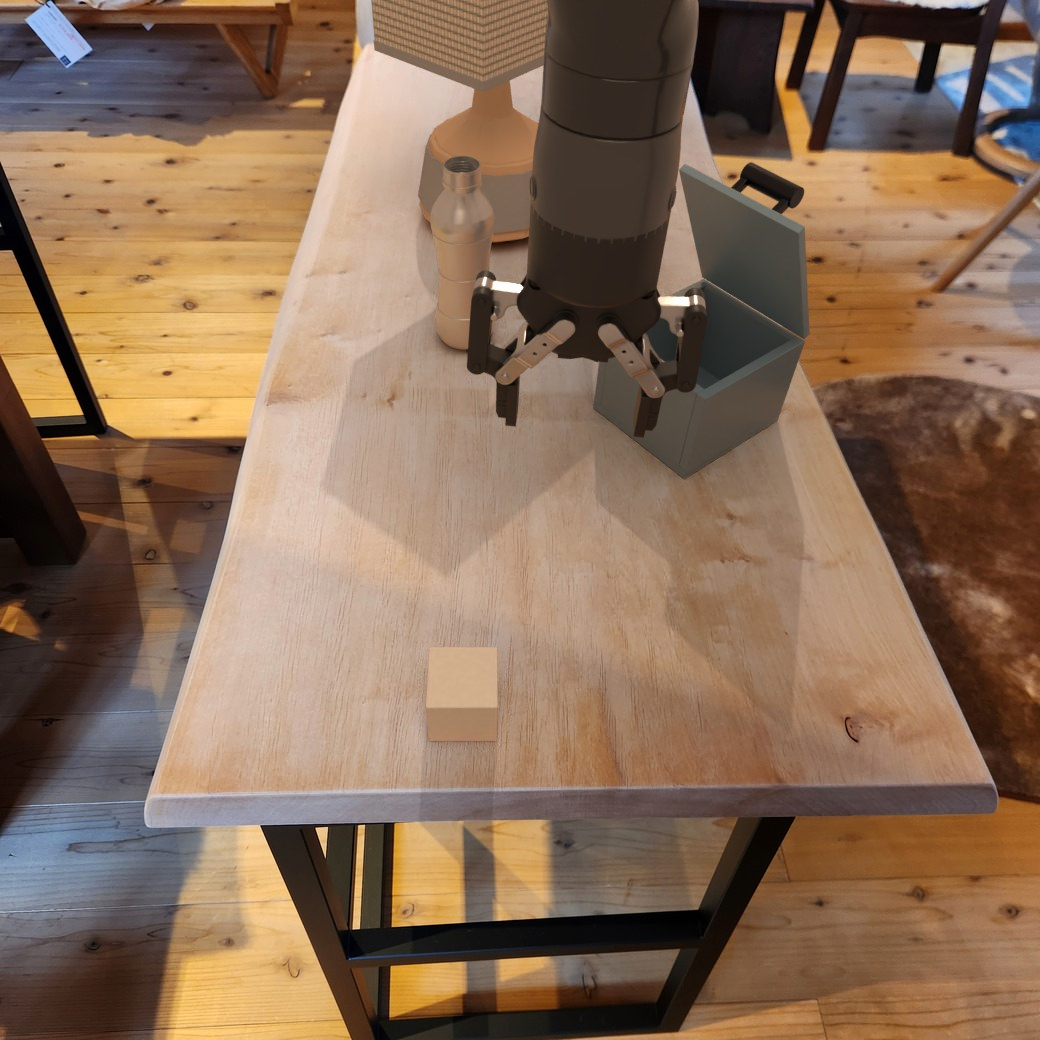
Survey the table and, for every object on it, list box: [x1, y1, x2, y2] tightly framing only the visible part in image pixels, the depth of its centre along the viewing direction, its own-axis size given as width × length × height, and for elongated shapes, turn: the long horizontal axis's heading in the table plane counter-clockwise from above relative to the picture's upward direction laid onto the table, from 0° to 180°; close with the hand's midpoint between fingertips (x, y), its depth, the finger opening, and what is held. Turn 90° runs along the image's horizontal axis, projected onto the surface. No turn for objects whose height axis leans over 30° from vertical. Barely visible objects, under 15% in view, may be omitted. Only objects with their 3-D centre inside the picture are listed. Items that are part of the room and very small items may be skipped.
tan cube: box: [425, 646, 499, 742], centre depth 62 cm, size 5×5×5 cm
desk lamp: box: [370, 0, 548, 243], centre depth 99 cm, size 22×19×37 cm
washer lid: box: [678, 161, 811, 340], centre depth 77 cm, size 15×13×5 cm
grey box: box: [592, 278, 806, 480], centre depth 84 cm, size 14×13×10 cm
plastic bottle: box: [429, 156, 495, 350], centre depth 87 cm, size 6×7×20 cm
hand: (574, 423), depth 57 cm, fingers open, 8 cm apart
